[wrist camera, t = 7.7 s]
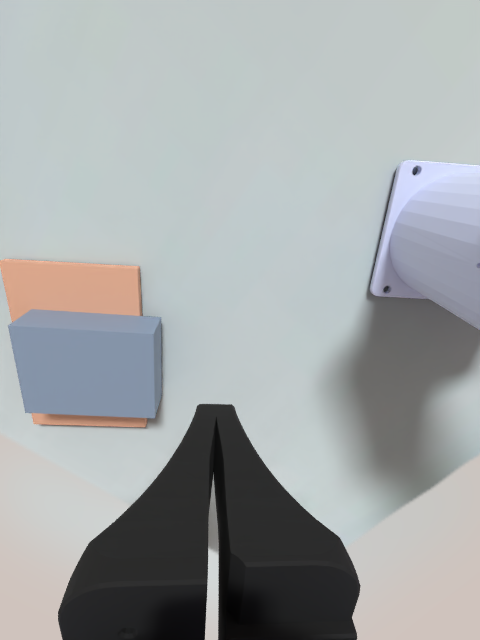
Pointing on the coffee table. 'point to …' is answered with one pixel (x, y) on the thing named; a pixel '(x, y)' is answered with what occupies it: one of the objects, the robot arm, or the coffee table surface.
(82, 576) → the robot arm
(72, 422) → the mat
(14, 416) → the coffee table surface
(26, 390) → the slab
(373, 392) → the coffee table surface
